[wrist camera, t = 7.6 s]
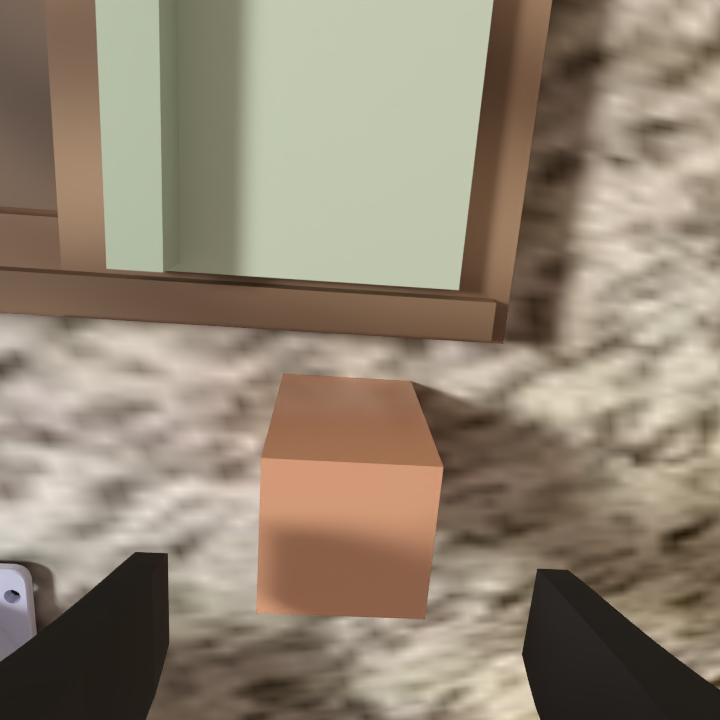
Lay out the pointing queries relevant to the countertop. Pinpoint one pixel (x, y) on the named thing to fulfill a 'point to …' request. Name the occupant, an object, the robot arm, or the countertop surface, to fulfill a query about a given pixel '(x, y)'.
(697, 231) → the countertop surface
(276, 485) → the block
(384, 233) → the cover
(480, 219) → the wooden tray
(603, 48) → the countertop surface
